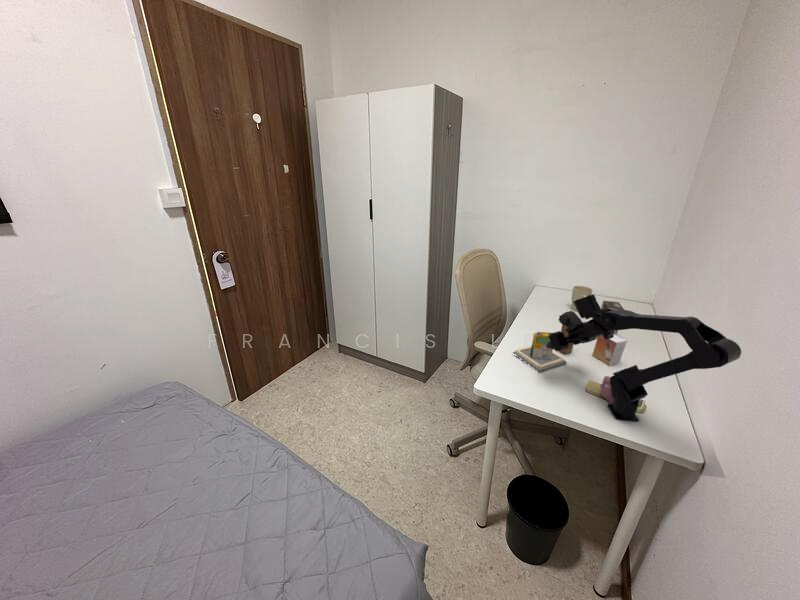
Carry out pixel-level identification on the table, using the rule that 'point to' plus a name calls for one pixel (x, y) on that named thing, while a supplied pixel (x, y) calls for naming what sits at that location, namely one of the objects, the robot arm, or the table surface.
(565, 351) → the walnut column
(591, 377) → the table surface
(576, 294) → the mug
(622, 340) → the small box
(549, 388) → the table surface
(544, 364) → the baseplate
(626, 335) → the table surface
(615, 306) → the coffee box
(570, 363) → the table surface
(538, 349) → the crayon box
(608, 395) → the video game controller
